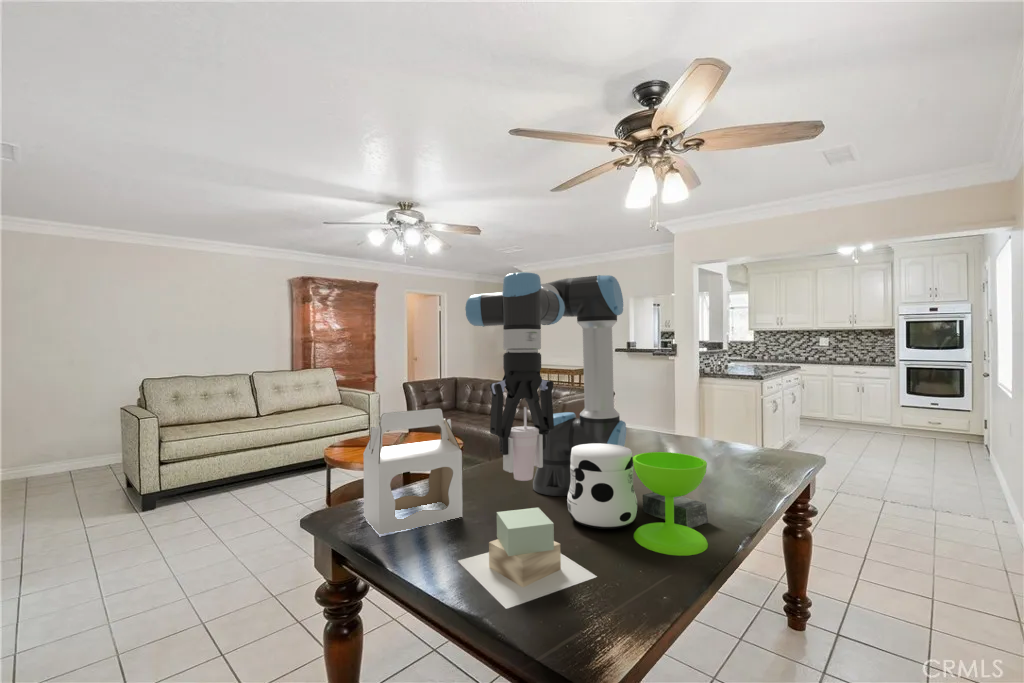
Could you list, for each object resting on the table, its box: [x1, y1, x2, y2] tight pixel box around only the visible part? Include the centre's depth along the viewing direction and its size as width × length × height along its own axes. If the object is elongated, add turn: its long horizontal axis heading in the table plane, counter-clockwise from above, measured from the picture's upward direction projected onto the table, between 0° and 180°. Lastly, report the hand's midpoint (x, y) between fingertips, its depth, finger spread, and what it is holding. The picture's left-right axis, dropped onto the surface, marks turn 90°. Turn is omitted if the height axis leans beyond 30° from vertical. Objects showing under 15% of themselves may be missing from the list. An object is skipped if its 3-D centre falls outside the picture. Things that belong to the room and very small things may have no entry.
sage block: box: [496, 507, 555, 556], centre depth 89 cm, size 9×9×5 cm
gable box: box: [363, 407, 463, 534], centre depth 117 cm, size 22×13×28 cm, turn 123°
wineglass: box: [633, 451, 709, 557], centre depth 103 cm, size 16×16×18 cm
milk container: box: [566, 443, 638, 530], centre depth 114 cm, size 17×17×18 cm
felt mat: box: [457, 551, 598, 610], centre depth 89 cm, size 20×20×1 cm
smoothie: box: [509, 406, 539, 482], centre depth 89 cm, size 6×6×14 cm
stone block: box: [642, 492, 709, 529], centre depth 117 cm, size 9×14×5 cm, turn 29°
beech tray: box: [488, 538, 562, 587], centre depth 89 cm, size 10×10×5 cm
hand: (523, 468), depth 89 cm, fingers closed on smoothie, 6 cm apart
